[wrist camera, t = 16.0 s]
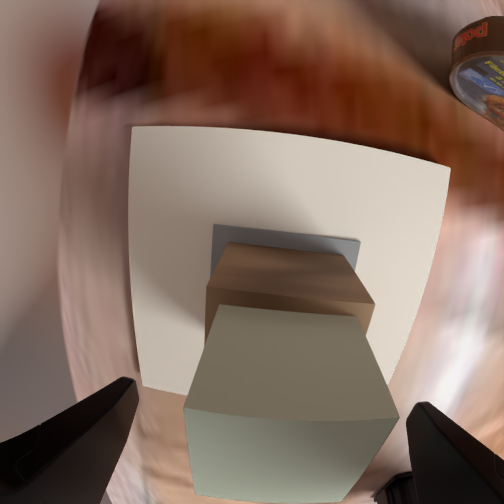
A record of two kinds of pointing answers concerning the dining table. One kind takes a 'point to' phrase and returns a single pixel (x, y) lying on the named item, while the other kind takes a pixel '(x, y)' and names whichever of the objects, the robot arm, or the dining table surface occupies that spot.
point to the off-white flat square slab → (270, 229)
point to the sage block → (285, 407)
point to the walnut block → (286, 283)
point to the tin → (480, 68)
